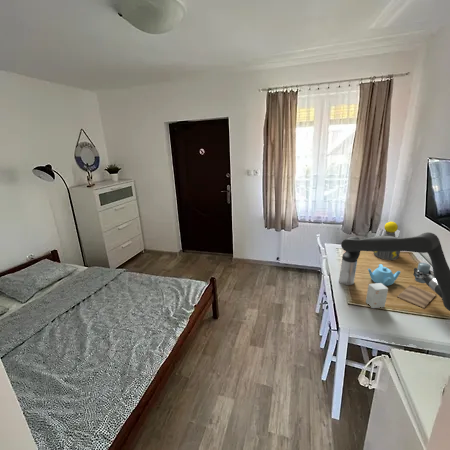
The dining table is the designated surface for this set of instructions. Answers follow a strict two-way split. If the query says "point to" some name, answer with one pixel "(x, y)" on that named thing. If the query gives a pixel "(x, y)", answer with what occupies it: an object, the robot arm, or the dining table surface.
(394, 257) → the toy tesla coil
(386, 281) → the teapot
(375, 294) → the small box
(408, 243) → the robot arm
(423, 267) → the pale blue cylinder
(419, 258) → the dining table surface
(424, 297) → the placemat
